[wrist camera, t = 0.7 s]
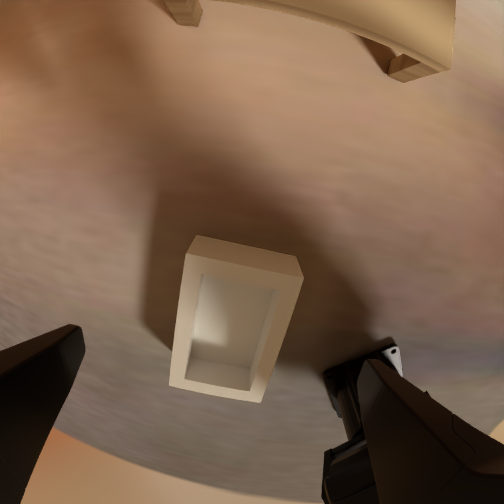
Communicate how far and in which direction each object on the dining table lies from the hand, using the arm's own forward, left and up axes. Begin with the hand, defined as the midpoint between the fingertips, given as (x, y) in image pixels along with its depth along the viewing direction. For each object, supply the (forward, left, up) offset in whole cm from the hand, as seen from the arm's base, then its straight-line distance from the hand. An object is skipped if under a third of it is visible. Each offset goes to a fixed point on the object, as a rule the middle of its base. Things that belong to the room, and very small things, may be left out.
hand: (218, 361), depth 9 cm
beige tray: (-5, +2, -12) cm, 13 cm away
